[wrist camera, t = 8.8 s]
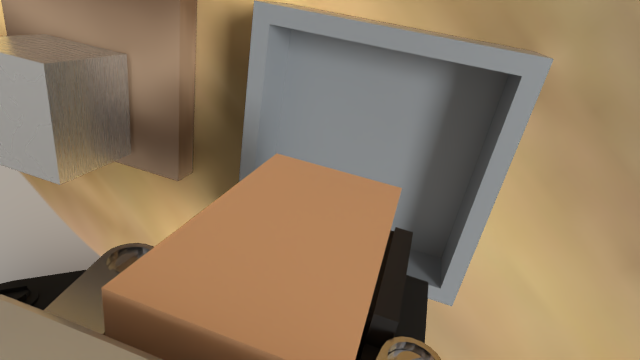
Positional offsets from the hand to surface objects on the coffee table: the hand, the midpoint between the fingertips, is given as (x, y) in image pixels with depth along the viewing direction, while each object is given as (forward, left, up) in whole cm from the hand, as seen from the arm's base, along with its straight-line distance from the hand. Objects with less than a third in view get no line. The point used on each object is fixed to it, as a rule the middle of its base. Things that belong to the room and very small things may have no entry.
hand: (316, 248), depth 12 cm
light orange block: (0, 0, -1) cm, 1 cm away
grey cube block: (+1, -17, -9) cm, 19 cm away
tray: (0, 0, -10) cm, 10 cm away
